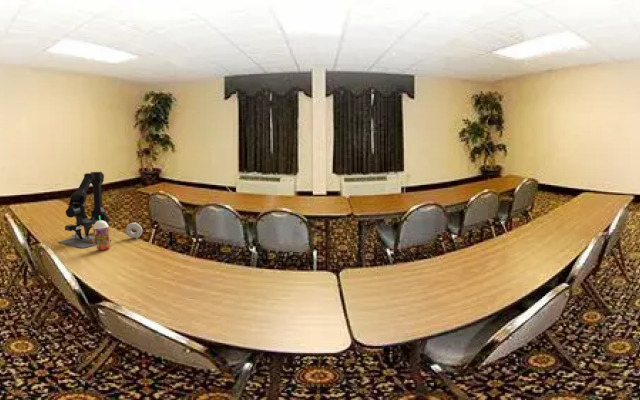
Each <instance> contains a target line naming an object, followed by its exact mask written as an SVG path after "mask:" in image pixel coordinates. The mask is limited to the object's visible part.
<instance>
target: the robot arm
mask: <svg viewBox="0 0 640 400" xmlns="http://www.w3.org/2000/svg"><path fill="white" fill-rule="evenodd" d="M104 181H105V174H104V173H103V172H102V171H91V172H90V173H89V172H87V173H84V174H83V179H82V181H81V182H80V184H79V186H78V189H76V190H75V191H73V193H72V194H71V196H70V200H69V204H68V208H66V211H65V215H66V216H67V217H68V218H71V219H72V218H75V224H71V223H70V224H67V225H66V224H65V226H64V230H65V231H67V232H72V231H74V232H75V233H77V235H78V236H79V238H80V239H82V235H83V234H82V227H83V231H84V235H86V236H88V235H90V230H91V229H93V226H94V224H95V222H97V221H99V216H100V219H101V220H103V221H105V222H106V223H107V224H108V223H109V222H110V217H109V216H108V215H107V213H106V210H105V209H104V207H103V195H102V194H103V193H102V185H103V183H104ZM91 185H92V192H93V194H92V195H93V210H91V212H90V213H91V216H90V218H89V216H88V214H87V212H86V207H85V206H87V203H86V200H87V196H88V195H87V192H88V190H89V188H90V186H91Z"/></svg>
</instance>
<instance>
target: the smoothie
mask: <svg viewBox="0 0 640 400" xmlns="http://www.w3.org/2000/svg"><path fill="white" fill-rule="evenodd" d="M92 226H93V227H92V229H93V236H95V240H96V245H95V246H96V249H97V250H98V251H99V252H103V251H104V252H105V251H109V249H110V247H111V245H110V243H111V241H110V240H111V238H110V226H109V224H108V223H106V222H105V221H103V220H101V219H100V216H99V221H97V222H95V224H94V225H92Z"/></svg>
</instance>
